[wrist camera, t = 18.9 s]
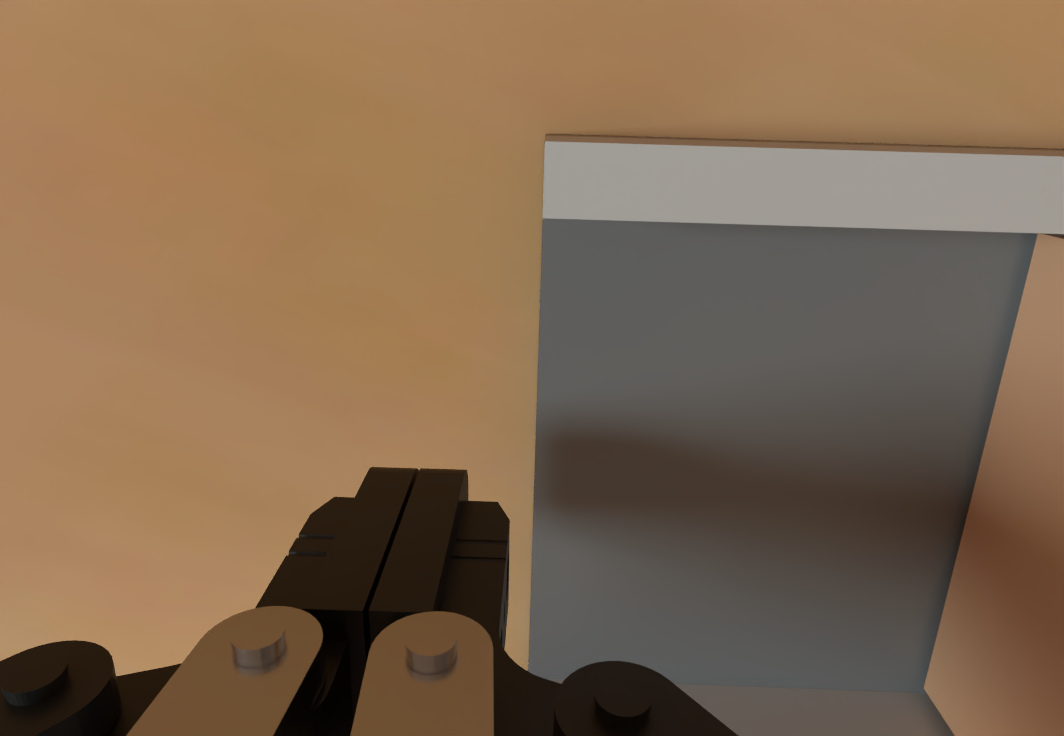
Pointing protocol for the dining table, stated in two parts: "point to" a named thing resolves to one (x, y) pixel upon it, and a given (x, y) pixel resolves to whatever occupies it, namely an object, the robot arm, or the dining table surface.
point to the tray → (770, 412)
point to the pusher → (1013, 539)
